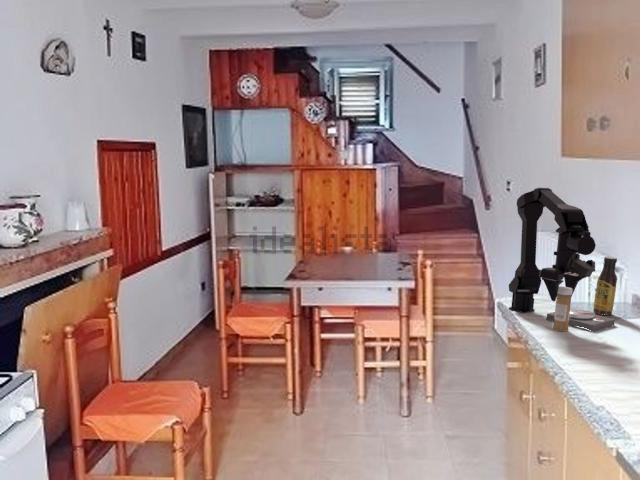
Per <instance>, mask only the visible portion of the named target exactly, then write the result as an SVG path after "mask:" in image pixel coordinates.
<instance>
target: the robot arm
mask: <svg viewBox="0 0 640 480" xmlns="http://www.w3.org/2000/svg"><path fill="white" fill-rule="evenodd" d="M516 208H517V214H518V216H519V218H520V221H521V239H520V240H521V243H520V245H521V247H520V263H519V264H518V266H517V268H516V269H515V271H514V277H513V278H512V280H511V281H510V283H509V284H508V291H509V292H510V293H512V298H511V306H510V307H508V310H511V311H515V312H520V313H523V314H526V313H530V312H534V311H535V310H536V309H535V308H534V305H535V298H534V296H535V295H538V294H539V291H540V288H541V285H542V281H543V282H544V285H545V287H546V289H547V292H548V295H549V297H550V299H551V301H552V302H556V299H557V293H558V288H559V287H560V285H561V284H562V283H564V285H565V286H564V287H569V288H572V289H573V291H572V296H571V298H572V297H573V295H574V293H575V290H576V288H577V285H578V283H579V282H580V281H581V280H583V279H586V278H590V277H591V275H592V274H593V273H595V272H596V261H595V260H593V259H587V260H582V259H580V257H581V255H583V256H588V255H589V256H590V254H592V253H593V252H594V251H595V249H596V246H597V244H596V242H595V239H594V238H593V237H592V236H591V234H592V233H591V231H590V230H589V228H590V227H589V225H588V223H587V220H586V215H585V213H584V211H583V209H581V208H579V207H578V206H574V205H569V204H568V203H566V202H565V201H564V200H562V198H560V196H558V195H556V194H555V193H554V191H553V190H552V189H551V188H549V187H536V188H534V189H533V190H531V191H528V192H525V193H523V194H521V195H520V196H519V197H518V198H517V201H516ZM545 208H546V209H547V210H549V211H550V212H551V213H552V214H553V216H554V217H553V218H554V221H555V222H556V224H557V226H558V228H556V230H555V233H558V238H557V246H556V251H553V256H555V264H552V267H543V268H542V269H539V268H538V266H537V263H536V259H537V239H538V238H537V237H538V234H537V233H538V221H539V220H540V218H541V217H542V215H543V214H544V209H545ZM534 294H535V295H534Z"/></svg>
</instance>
